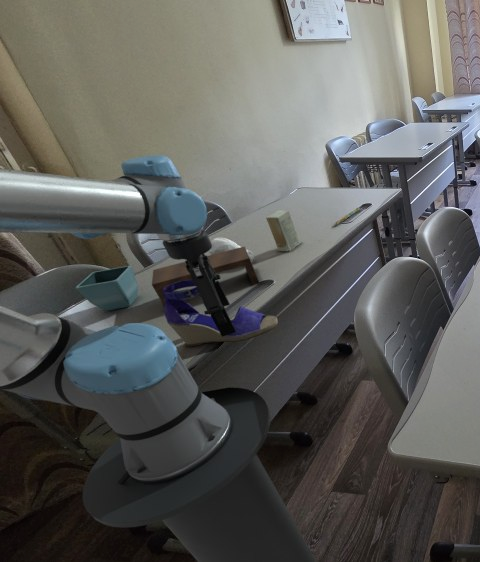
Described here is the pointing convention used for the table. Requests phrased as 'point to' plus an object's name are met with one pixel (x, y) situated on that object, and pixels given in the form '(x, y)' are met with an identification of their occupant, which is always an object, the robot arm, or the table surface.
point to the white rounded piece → (226, 247)
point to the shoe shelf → (217, 261)
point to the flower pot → (110, 288)
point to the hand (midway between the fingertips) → (226, 319)
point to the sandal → (209, 319)
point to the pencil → (347, 216)
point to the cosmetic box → (283, 230)
